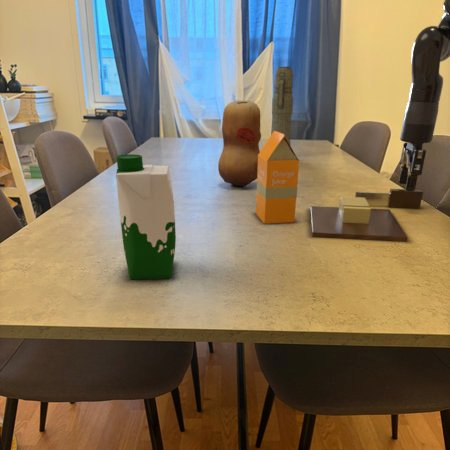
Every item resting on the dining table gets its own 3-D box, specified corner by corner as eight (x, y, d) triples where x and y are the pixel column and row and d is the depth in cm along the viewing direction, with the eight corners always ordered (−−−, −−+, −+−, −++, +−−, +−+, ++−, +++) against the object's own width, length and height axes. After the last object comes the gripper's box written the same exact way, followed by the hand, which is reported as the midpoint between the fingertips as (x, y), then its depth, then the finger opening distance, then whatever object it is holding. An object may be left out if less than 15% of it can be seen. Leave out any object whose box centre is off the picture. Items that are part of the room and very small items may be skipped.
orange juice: (284, 212, 112) (289, 130, 103) (295, 222, 104) (302, 134, 95) (255, 213, 111) (258, 130, 102) (263, 223, 103) (267, 135, 94)
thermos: (268, 157, 188) (272, 66, 172) (270, 153, 198) (274, 67, 182) (289, 158, 186) (295, 66, 170) (290, 154, 197) (295, 67, 181)
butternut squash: (223, 191, 132) (223, 102, 121) (215, 182, 144) (214, 99, 132) (266, 189, 135) (270, 101, 123) (255, 180, 146) (257, 99, 135)
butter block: (362, 211, 109) (364, 197, 108) (367, 220, 102) (369, 206, 101) (338, 210, 110) (340, 196, 109) (341, 219, 103) (343, 204, 102)
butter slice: (367, 222, 101) (370, 207, 100) (368, 223, 100) (371, 209, 98) (341, 220, 102) (343, 206, 101) (342, 222, 101) (344, 207, 99)
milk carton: (129, 262, 82) (118, 152, 72) (177, 261, 82) (172, 151, 73) (124, 282, 74) (109, 161, 65) (177, 280, 74) (170, 160, 65)
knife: (417, 206, 117) (421, 189, 115) (419, 208, 116) (423, 191, 113) (353, 203, 120) (355, 187, 118) (354, 205, 118) (356, 189, 116)
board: (388, 213, 112) (389, 209, 111) (406, 241, 92) (407, 237, 92) (310, 209, 114) (310, 206, 114) (312, 236, 95) (312, 232, 95)
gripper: (443, 124, 100) (427, 194, 108) (427, 119, 113) (414, 181, 120) (410, 123, 101) (396, 192, 109) (398, 118, 114) (386, 180, 121)
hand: (406, 187), depth 115 cm, fingers open, 8 cm apart
